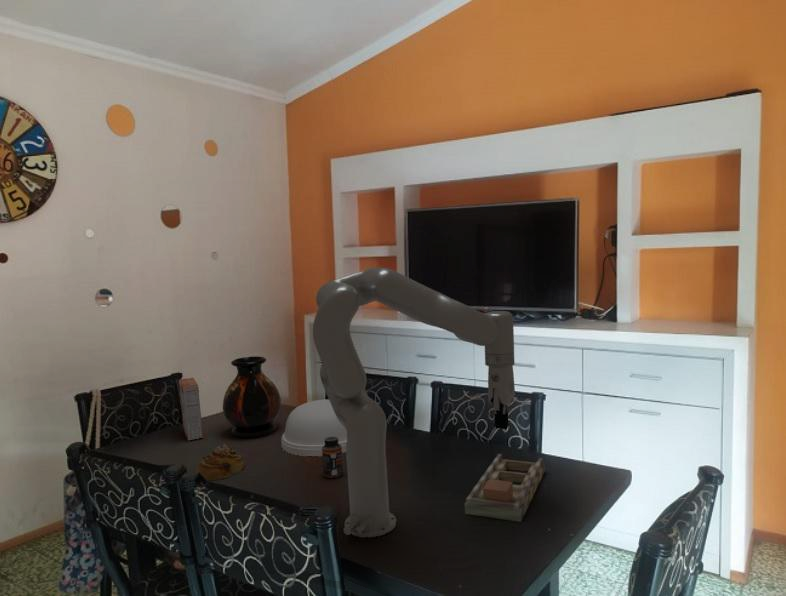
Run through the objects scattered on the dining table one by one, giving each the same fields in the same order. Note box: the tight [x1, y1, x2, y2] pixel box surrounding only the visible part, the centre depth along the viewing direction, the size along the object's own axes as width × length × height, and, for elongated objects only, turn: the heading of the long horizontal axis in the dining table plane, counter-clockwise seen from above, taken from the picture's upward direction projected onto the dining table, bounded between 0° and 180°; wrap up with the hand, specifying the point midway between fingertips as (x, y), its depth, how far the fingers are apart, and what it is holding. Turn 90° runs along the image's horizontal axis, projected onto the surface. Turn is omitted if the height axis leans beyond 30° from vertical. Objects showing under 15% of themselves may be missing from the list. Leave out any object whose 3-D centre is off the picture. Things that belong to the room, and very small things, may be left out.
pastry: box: [194, 443, 245, 482], centre depth 185 cm, size 13×15×8 cm
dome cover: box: [280, 398, 347, 458], centre depth 208 cm, size 32×30×14 cm
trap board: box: [464, 453, 546, 523], centre depth 159 cm, size 32×14×4 cm, turn 156°
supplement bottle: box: [321, 437, 344, 479], centre depth 176 cm, size 6×6×11 cm
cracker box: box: [178, 377, 204, 441], centre depth 222 cm, size 14×6×21 cm, turn 25°
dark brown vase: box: [222, 355, 282, 439], centre depth 222 cm, size 22×22×28 cm
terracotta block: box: [483, 479, 514, 503], centre depth 148 cm, size 6×6×4 cm
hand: (501, 427), depth 154 cm, fingers closed
